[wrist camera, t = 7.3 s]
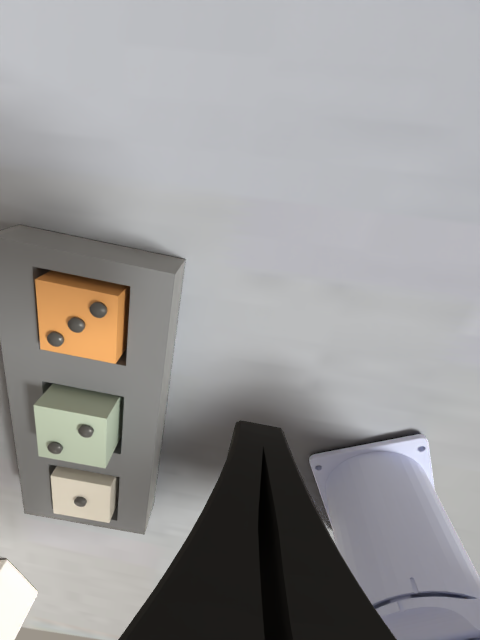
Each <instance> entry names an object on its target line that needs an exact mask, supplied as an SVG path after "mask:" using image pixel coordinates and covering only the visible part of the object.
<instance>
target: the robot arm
mask: <svg viewBox="0 0 480 640" xmlns="http://www.w3.org/2000/svg"><path fill="white" fill-rule="evenodd" d="M420 446H421V447H420ZM309 462H310V466H311V469H312V472H313V475H314V478H315V480H316V483H317V486H318V489H319V492H320V495H321V498H322V501H323V503H324V506H325V509H326V512H327V515H328V518H329V521H330V524H331V527H332V529H333V534H334V539H335V543H334V541H333V540H332V538H331V536H330V534H329V532H328V530H327V529H326V527H325V525H324V523H323V521H322V519H321V517H320V515H319V513H318V511H317V509H316V507H315V505H314V503H313V501H312V499H311V497H310V495H309V493H308V490H307V488H306V486H305V484H304V482H303V480H302V477H301V475H300V473H299V471H298V468H297V466H296V463H295V461H294V459H293V456H292V454H291V451H290V448H289V446H288V443H287V440H286V438H285V435H284V432H283V430H282V429H281V428H277V427H272V426H267V425H261V424H256V423H251V422H246V421H239V422H236V425H235V428H234V432H233V436H232V440H231V444H230V448H229V452H228V456H227V460H226V462H225V465H224V467H223V470H222V472H221V474H220V477H219V479H218V481H217V483H216V485H215V487H214V489H213V491H212V493H211V495H210V497H209V499H208V501H207V503H206V505H205V507H204V509H203V511H202V513H201V515H200V516H199V518H198V520H197V522H196V524H195V525H194V527H193V529H192V531H191V532H190V534H189V536H188V537H187V539H186V541H185V542H184V544H183V546H182V547H181V549H180V551H179V552H178V554H177V555H176V557H175V558H174V560H173V562H172V563H171V565H170V566H169V568H168V569H167V571H166V573H165V574H164V576H163V577H162V579H161V580H160V582H159V583H158V585H157V586H156V588H155V589H154V590H153V592H152V593H151V595H150V596H149V598H148V599H147V600H146V602H145V603H144V605H143V606H142V607H141V609H140V610H139V612H138V613H137V614H136V616H135V617H134V619H133V620H132V621H131V623H130V624H129V626H128V627H127V629H126V630H125V631H124V633H123V634H122V635H121V637H120V638H119V640H480V577H479V575H478V573H477V571H476V569H475V567H474V565H473V563H472V561H471V559H470V557H469V555H468V554H467V552H466V550H465V548H464V546H463V544H462V542H461V540H460V538H459V536H458V534H457V532H456V530H455V528H454V526H453V524H452V523H451V521H450V519H449V517H448V515H447V513H446V511H445V509H444V507H443V505H442V503H441V501H440V499H439V497H438V495H437V493H436V491H435V488H434V480H433V473H432V465H431V458H430V450H429V443H428V440H427V438H426V436H424V435H422V434H416V435H411V436H406V437H401V438H396V439H390V440H385V441H380V442H375V443H370V444H364V445H359V446H354V447H349V448H344V449H338V450H333V451H328V452H323V453H318V454H313V455H311V456H310V458H309ZM317 465H319V466H317Z"/></svg>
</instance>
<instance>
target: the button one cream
mask: <svg viewBox="0 0 480 640" xmlns="http://www.w3.org/2000/svg"><path fill="white" fill-rule="evenodd" d="M119 482H120V477H116V476H111V475H105V474H100V473H94V472H89V471H83V470H78V469H72V468H67V467H61V466H57V467H56V468H55V470H54V471H53V473H52V474H51V487H52V500H53V513H55V514H61V515H66V516H72V517H78V518H83V519H89V520H95V521H100V522H106V523H110V520H111V518H112V515H113V513H114V510H115V508H116V505H117V503H118V500H119Z"/></svg>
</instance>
